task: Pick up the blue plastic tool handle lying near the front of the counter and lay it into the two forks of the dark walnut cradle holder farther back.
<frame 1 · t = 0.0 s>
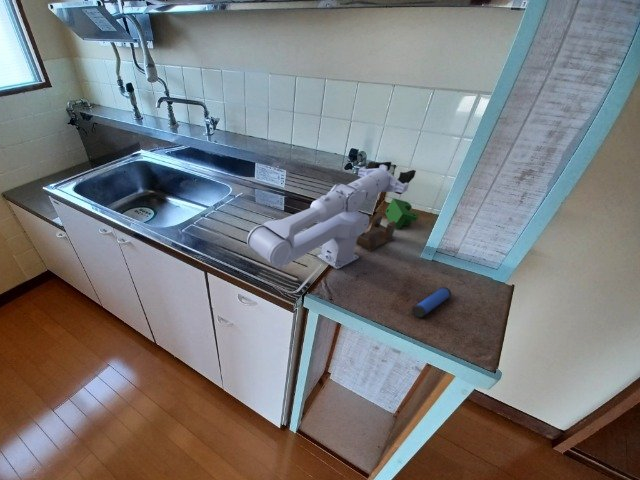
hand: (401, 169, 90), 22 cm above the countertop, tool horizontal, fingers open, 7 cm apart
holder: (371, 240, 104), on the countertop
clamp: (398, 222, 112), on the countertop
handle: (429, 306, 81), on the countertop
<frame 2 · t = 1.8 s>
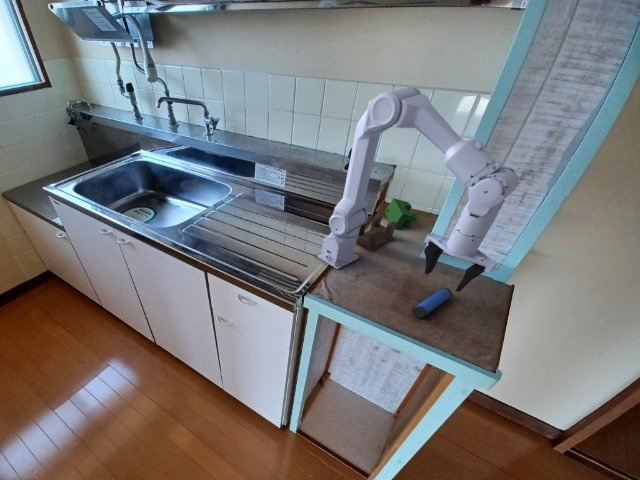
hand: (443, 280, 76), 8 cm above the countertop, tool pointing down, fingers open, 7 cm apart
handle: (429, 306, 81), on the countertop, tilted 7°
everything else where it was.
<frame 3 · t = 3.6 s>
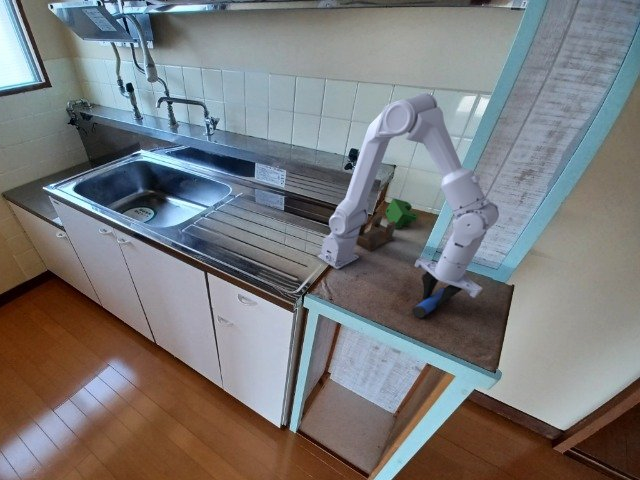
hand: (432, 302, 80), 2 cm above the countertop, tool pointing down, fingers closed on handle, 3 cm apart
handle: (429, 306, 81), on the countertop, tilted 7°, touching gripper
everything else where it was.
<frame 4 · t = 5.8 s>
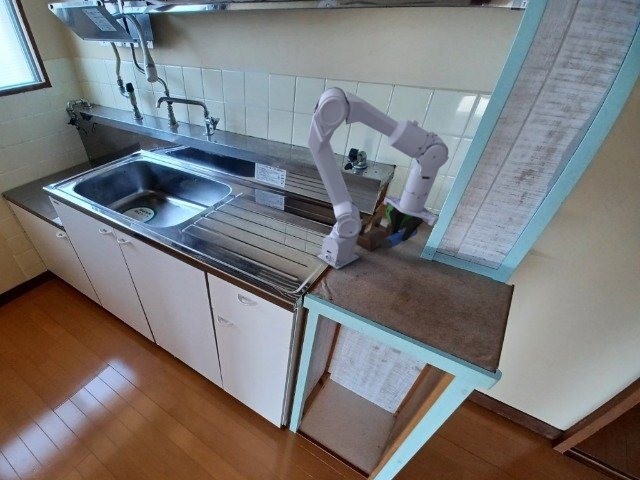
hand: (399, 237, 89), 8 cm above the countertop, tool pointing down, fingers closed on handle, 3 cm apart
handle: (397, 241, 91), point 7 cm above the countertop, tilted 8°, touching gripper
everything else where it was.
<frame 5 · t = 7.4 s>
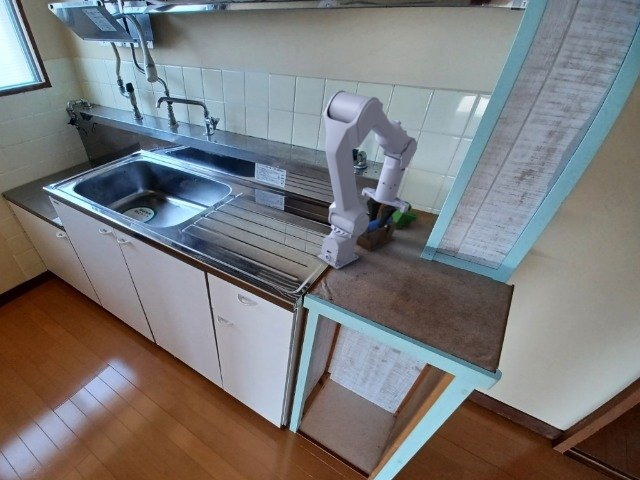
hand: (376, 224, 100), 6 cm above the countertop, tool pointing down, fingers closed on handle, 3 cm apart
handle: (375, 228, 101), point 4 cm above the countertop, tilted 8°, touching gripper
everything else where it was.
when the fingers open (4 cm above the countertop, at t = 8.1 s): handle stays where it is, resting on holder.
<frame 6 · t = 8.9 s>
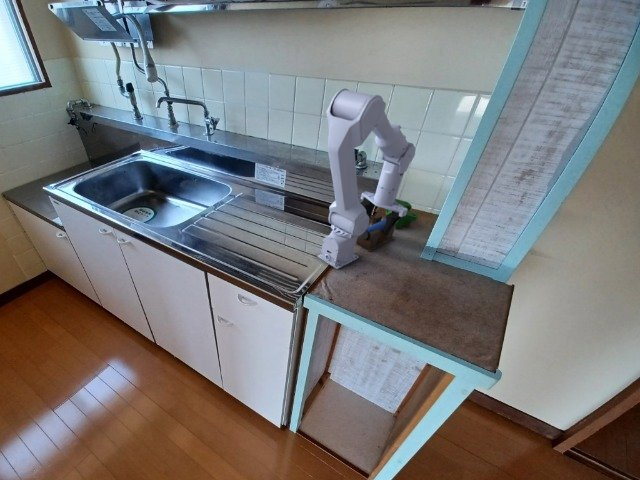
hand: (375, 228, 101), 4 cm above the countertop, tool pointing down, fingers open, 7 cm apart
handle: (374, 231, 102), point 3 cm above the countertop, tilted 18°, touching holder
everything else where it was.
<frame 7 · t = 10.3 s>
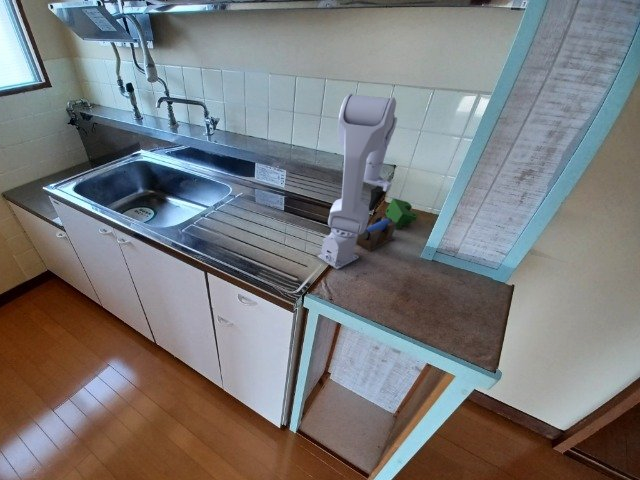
hand: (361, 205, 101), 9 cm above the countertop, tool pointing down, fingers open, 7 cm apart
nothing on the countertop moved.
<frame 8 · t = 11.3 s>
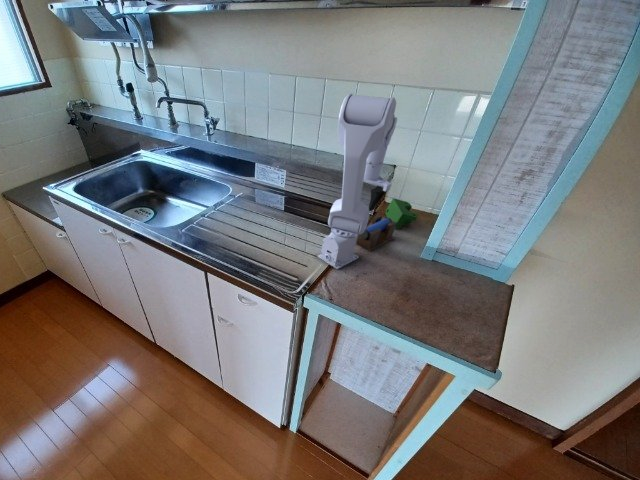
hand: (361, 205, 101), 9 cm above the countertop, tool pointing down, fingers open, 7 cm apart
handle: (374, 231, 102), point 3 cm above the countertop, tilted 13°, touching holder
everything else where it was.
at the end: handle 0.2 cm off-centre on the holder, point 3.0 cm above the holder's base; handle tilted 13°; the gripper is holding nothing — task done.
